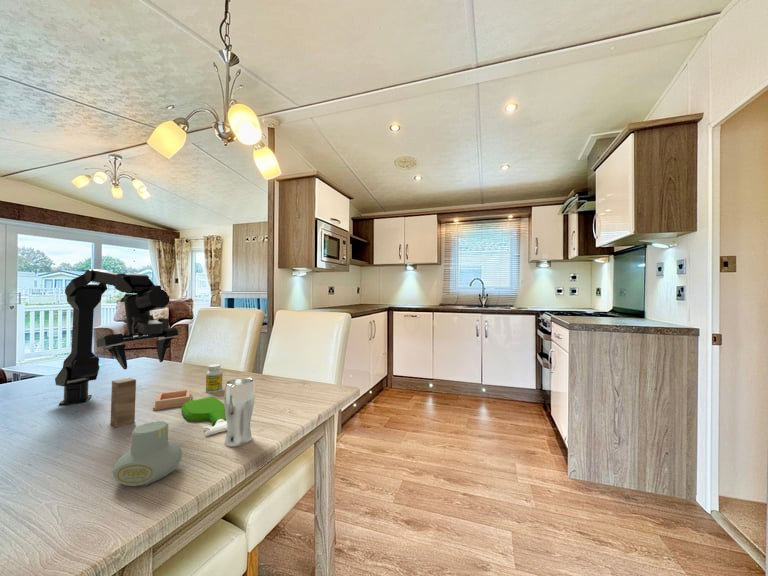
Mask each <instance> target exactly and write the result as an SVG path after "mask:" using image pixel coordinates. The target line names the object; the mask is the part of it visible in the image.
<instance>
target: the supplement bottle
mask: <svg viewBox="0 0 768 576" xmlns="http://www.w3.org/2000/svg"><path fill="white" fill-rule="evenodd" d="M207 370H208V371H207V372H206V374H205V375H206V376H205V392H206V393H207V394H208V393H209V394H216V393H219V392H221V391H222V390H223V371H222V369H221V364H218V363H217V364H216V363H215V364H210V365H208V367H207Z"/></svg>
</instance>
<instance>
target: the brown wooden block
mask: <svg viewBox="0 0 768 576" xmlns="http://www.w3.org/2000/svg"><path fill="white" fill-rule="evenodd" d="M136 388H137V380H136V379H135V378H132V377H124V378H121V379H117V380H111V397H110V398H111V399H110V402H111V403H110V425H111V426H113V427H115V428H119V427H123V426H127V425H129V424H132V423H135V421H136V393H137V389H136Z"/></svg>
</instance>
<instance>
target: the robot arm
mask: <svg viewBox="0 0 768 576" xmlns="http://www.w3.org/2000/svg"><path fill="white" fill-rule="evenodd" d="M107 285H109V286H113V287H114V289H115V290H117V291H119V292H121V293H125V294H124V296H123V297H121V299H120V303H124V311H125V319H123V321H124V322H123V323H124V324H126V327H127V330H126V331H127V332H126V333H125V335H123V334H122V333H117V334H116V333H115V334H106V335H103V336H100V337H98V338H97V340H96V348H98V349H100V348H103V351H108V352H109V353H110V354H111V355H112V356H113V357H114V358H115V360H116V361H117V363H118V364H119V365H120V366H121V368H122V369H123V370H127V369H128V362H127V361H128V360H127V357H126V351H125V350H126V346H127V345H126V343H127V342H135V341H140V340H141V341H143V340H148V339H155V338H156V339H158V340H155V345H156V351H157V356H158V362H159V363H163V362H164V360H165V356H166V352H167V349H168V346H169V344H170V343H171V341H172V340H175V337H178V336H180V332H179V330H178V328H177V327H169V325H170V324H169V323H170V321H169V318H168V317H158V319H157V320H155V319H154V316H153V314H151V312H152V311H154V310H158V309H162V308H165V307H166V306H168V305H169V303H170V298H171V297H170V296H169V294H168V293H167V291H165V290H164V289H162V286H161V285H156V284H154V283H153V281H152V279H151V278H150V276H149V275H147V274H140V273H127V272H125V273H124V272H123V273H118V272H114V271H113V272H112V271H109V270H106V269H98V268H97V269H96V268H95V269H93V268H91V269H87V270H85V272H84V273H82V274H81V275H79V276H77V277H74V278H73V279H71V280H70V282H69V283H68V284H67V285H66V287H65V290H64V293H65V295H66V302H67V303H68V304H69V306H70V307H71V308H72V309H73V310H72V311H73V312H72V313H73V315H72V329H71V330H72V331H71V347H70V348H71V350H70V353H69V354H68V356H67V357H66V358H64V361H63V362H62V363H63V364H62V368H61V369H60V371H59V372H58V374H57V375H56V376H55V378H54V382H55V386H59V387H63V400H61V401H60V402H59V403H58V406H63V405H73V404H79V403H80V404H81V403H85V402H88V401H89V399H90V398H92V396H93V395H92V394H89V382H91V381H96V380H97V378H98V375H99V372H100V371H99V370H100V364H99V362H100V357H99V356H97V355H95V354H94V352H93V351H92V349H93V335H94V333H93V331H94V315H95V314H94V313H95V309H96V307H98V305H99V304H100V303H101V301H102V296H103V294H104V293H105V292H106V291H107V290H108V287H107ZM124 343H125V344H124Z"/></svg>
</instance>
